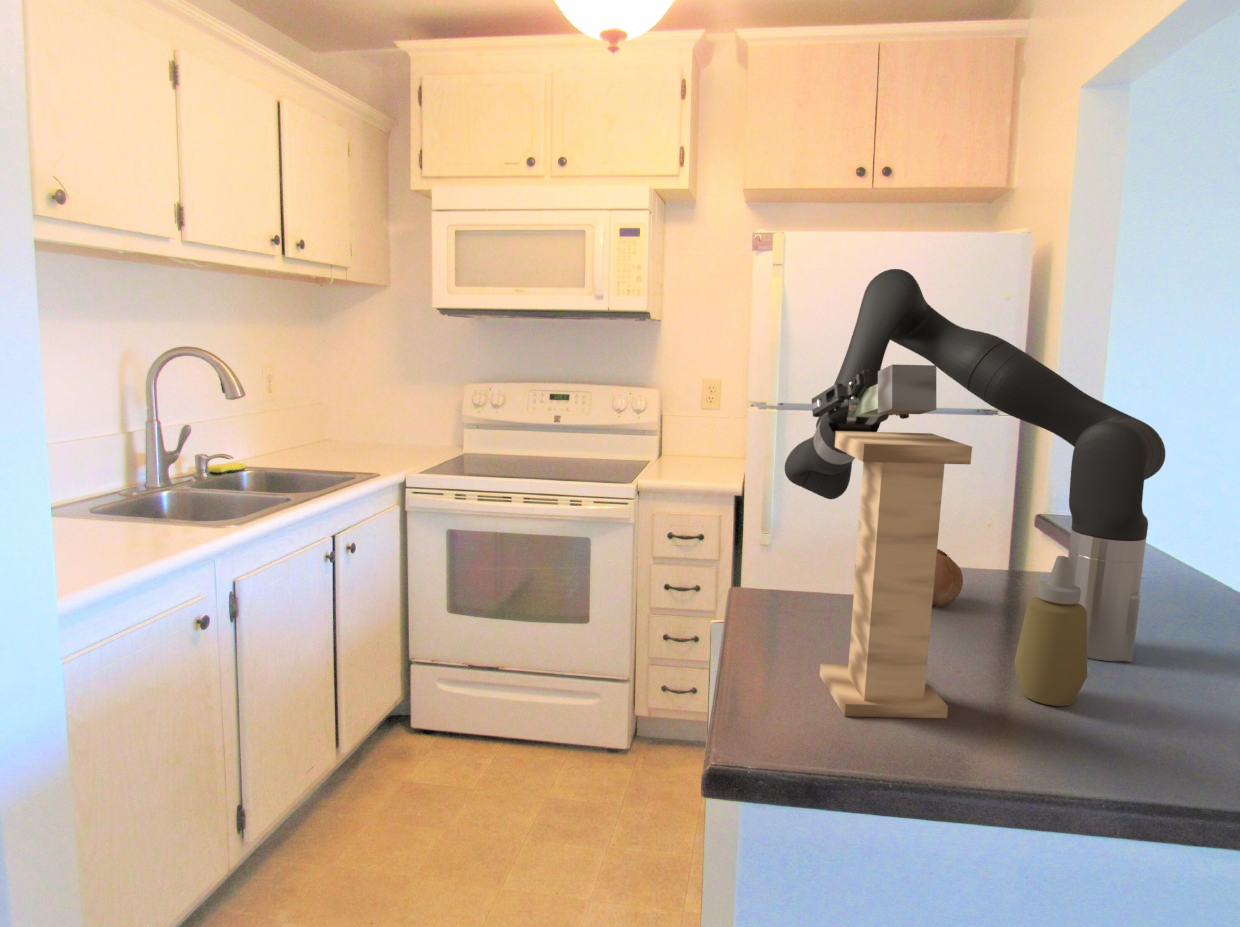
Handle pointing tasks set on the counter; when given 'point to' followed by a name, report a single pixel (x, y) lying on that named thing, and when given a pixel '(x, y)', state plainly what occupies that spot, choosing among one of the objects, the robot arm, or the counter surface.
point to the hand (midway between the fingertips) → (881, 377)
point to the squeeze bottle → (1053, 641)
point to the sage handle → (900, 392)
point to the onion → (946, 580)
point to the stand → (894, 574)
